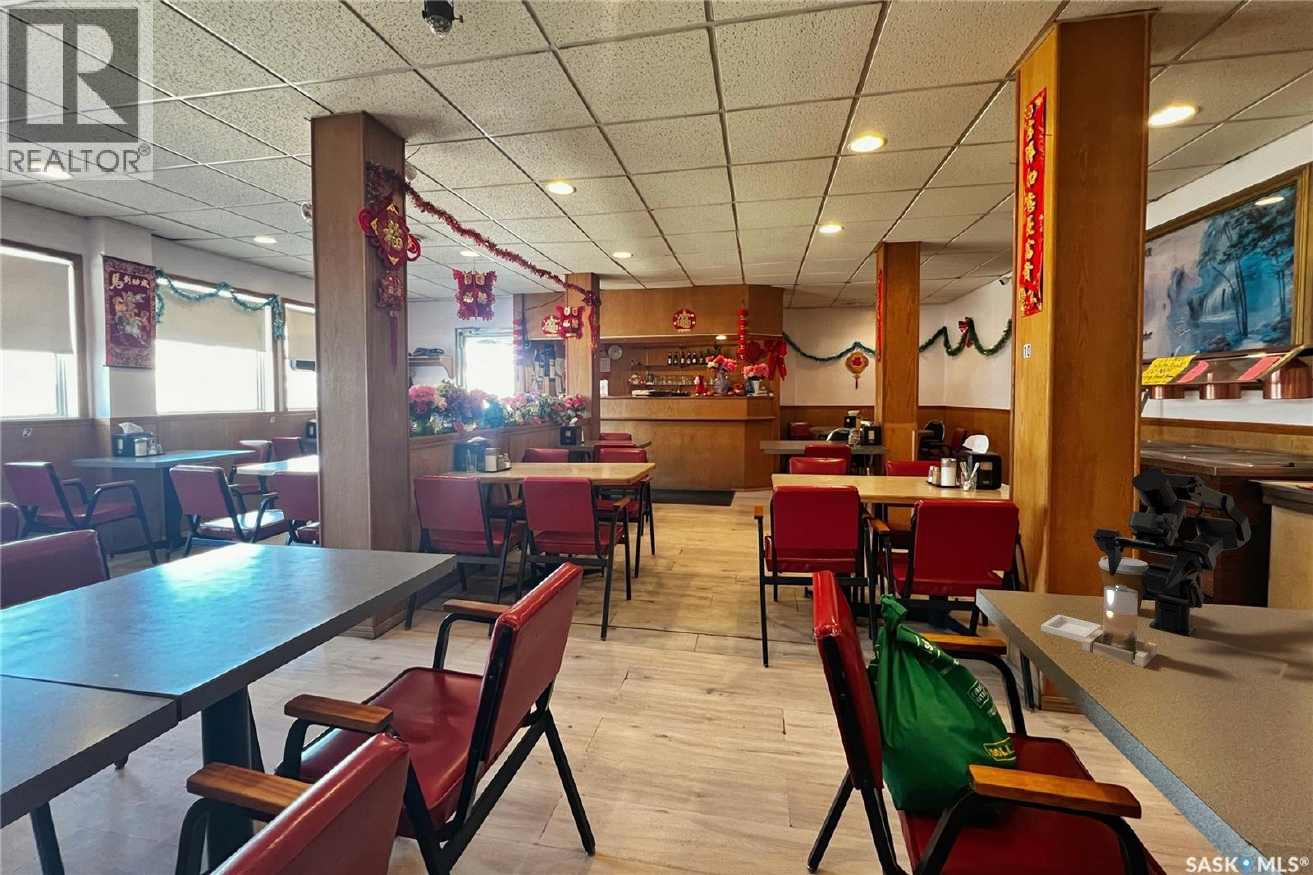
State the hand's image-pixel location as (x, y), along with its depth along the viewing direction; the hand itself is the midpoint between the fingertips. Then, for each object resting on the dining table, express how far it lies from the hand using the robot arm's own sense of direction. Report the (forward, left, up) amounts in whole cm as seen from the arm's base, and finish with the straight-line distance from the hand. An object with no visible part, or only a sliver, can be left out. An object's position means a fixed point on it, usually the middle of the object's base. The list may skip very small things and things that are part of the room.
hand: (1138, 580), depth 112 cm
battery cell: (+8, -1, -13) cm, 15 cm away
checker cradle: (+8, -1, -14) cm, 16 cm away
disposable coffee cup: (-23, -8, -14) cm, 28 cm away
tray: (+3, -10, -14) cm, 17 cm away
